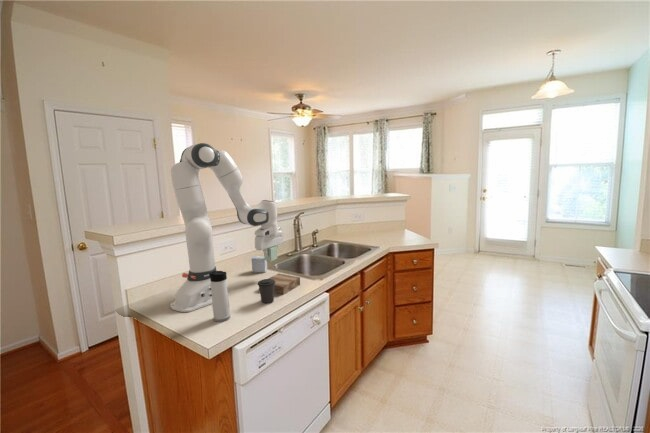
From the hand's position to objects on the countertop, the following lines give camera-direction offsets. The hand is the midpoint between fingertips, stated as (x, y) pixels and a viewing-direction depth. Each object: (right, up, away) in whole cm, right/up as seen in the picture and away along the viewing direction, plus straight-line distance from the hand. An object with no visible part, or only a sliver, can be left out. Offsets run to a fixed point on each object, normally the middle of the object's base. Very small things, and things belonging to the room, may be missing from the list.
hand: (270, 254), depth 164 cm
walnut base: (+7, -15, -12) cm, 21 cm away
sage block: (0, -3, 0) cm, 3 cm away
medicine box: (-9, -12, +14) cm, 20 cm away
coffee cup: (+4, -18, -28) cm, 33 cm away
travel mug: (-12, -21, -43) cm, 49 cm away
